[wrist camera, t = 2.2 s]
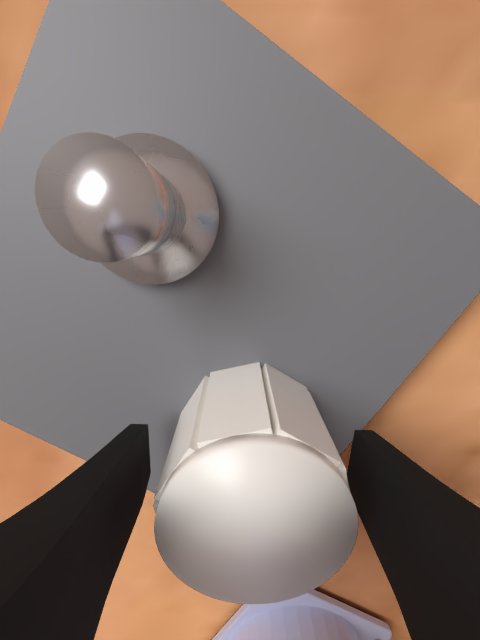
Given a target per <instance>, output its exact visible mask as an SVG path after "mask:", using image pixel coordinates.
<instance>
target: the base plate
mask: <svg viewBox="0 0 480 640" xmlns="http://www.w3.org/2000/svg"><path fill="white" fill-rule="evenodd" d="M84 132H93V133H100V134H104V135H108V136H110V137H113V138H116V137H119V136H122V135H127V134H132V133H148V134H155V135H158V136H162V137H165V138H167V139H170V140H172V141H174V142H176V143H177V144H179V145H181V146H182V147H184V148H185V149H186V150H187V151H189V152H190V153H191V154H192V155H193V156H194V157H195V158H196V159H197V160H198V161H199V163H200V164H201V165H202V167H203V168H204V169H205V171H206V173H207V174H208V176H209V178H210V180H211V182H212V185H213V187H214V189H215V192H216V196H217V199H218V205H219V216H220V219H219V229H218V233H217V237H216V240H215V243H214V245H213V247H212V249H211V251H210V253H209V254H208V256H207V257H206V259H205V260H204V261H203V262H202V263H201V264H200V265H199V266H198V267H197V268H196V269H195V270H193V271H192V272H191V273H189V274H188V275H186V276H185V277H183V278H180V279H178V280H176V281H173V282H170V283H165V284H159V285H147V284H140V283H135V282H132V281H129V280H126V279H124V278H122V277H120V276H118V275H116V274H114V273H113V272H111V271H110V270H108V269H107V268H106V267H105V266H104V265H102V264H101V263H100V262H93V261H89V260H85V259H83V258H80V257H78V256H76V255H74V254H72V253H71V252H69V251H68V250H66V249H65V248H64V247H62V246H61V245H60V244H59V243H58V242H57V241H56V240H55V239H54V238H53V237H52V235H51V234H50V233H49V231H48V230H47V228H46V227H45V225H44V223H43V221H42V219H41V217H40V214H39V211H38V208H37V204H36V198H35V180H36V175H37V171H38V168H39V165H40V163H41V161H42V159H43V157H44V156H45V154H46V153H47V151H48V150H49V149H50V148H51V147H52V146H53V145H54V144H56V143H57V142H58V141H60V140H62V139H63V138H65V137H67V136H70V135H73V134H77V133H84ZM479 292H480V206H479V205H478V204H477V203H476V202H474V201H473V200H472V199H470V198H469V197H468V196H467V195H465V194H464V193H463V192H462V191H460V190H459V189H458V188H457V187H455V186H454V185H453V184H452V183H450V182H449V181H448V180H446V179H445V178H444V177H443V176H441V175H440V174H439V173H438V172H436V171H435V170H434V169H433V168H431V167H430V166H429V165H428V164H426V163H425V162H424V161H423V160H421V159H420V158H419V157H417V156H416V155H415V154H414V153H412V152H411V151H410V150H409V149H407V148H406V147H405V146H404V145H402V144H401V143H400V142H399V141H397V140H396V139H395V138H394V137H392V136H391V135H390V134H388V133H387V132H386V131H385V130H383V129H382V128H381V127H380V126H378V125H377V124H376V123H375V122H373V121H372V120H371V119H370V118H368V117H367V116H366V115H365V114H363V113H362V112H361V111H359V110H358V109H357V108H356V107H354V106H353V105H352V104H351V103H349V102H348V101H347V100H346V99H344V98H343V97H342V96H341V95H339V94H338V93H337V92H336V91H334V90H333V89H332V88H330V87H329V86H328V85H327V84H325V83H324V82H323V81H322V80H320V79H319V78H318V77H317V76H315V75H314V74H313V73H312V72H310V71H309V70H308V69H306V68H305V67H304V66H303V65H301V64H300V63H299V62H298V61H296V60H295V59H294V58H293V57H291V56H290V55H289V54H288V53H286V52H285V51H284V50H283V49H281V48H280V47H279V46H277V45H276V44H275V43H274V42H272V41H271V40H270V39H269V38H267V37H266V36H265V35H264V34H262V33H261V32H260V31H259V30H257V29H256V28H255V27H254V26H252V25H251V24H250V23H248V22H247V21H246V20H245V19H243V18H242V17H241V16H240V15H238V14H237V13H236V12H235V11H233V10H232V9H231V8H230V7H228V6H227V5H226V4H225V3H223V2H222V1H221V0H50V1H49V3H48V6H47V9H46V11H45V14H44V17H43V20H42V22H41V25H40V28H39V30H38V33H37V36H36V39H35V41H34V44H33V47H32V49H31V52H30V55H29V57H28V60H27V63H26V66H25V68H24V71H23V74H22V76H21V79H20V82H19V84H18V87H17V90H16V93H15V95H14V98H13V101H12V103H11V106H10V109H9V112H8V114H7V117H6V120H5V122H4V125H3V128H2V130H1V133H0V420H2V421H4V422H6V423H8V424H10V425H12V426H14V427H16V428H19V429H21V430H23V431H25V432H27V433H29V434H31V435H33V436H35V437H38V438H40V439H42V440H44V441H46V442H48V443H50V444H52V445H54V446H57V447H59V448H61V449H63V450H65V451H67V452H69V453H71V454H73V455H75V456H78V457H80V458H82V459H84V460H86V461H88V460H89V459H90V458H91V457H93V456H94V455H95V454H96V453H97V452H99V451H100V450H101V449H102V448H103V447H104V446H105V445H107V444H108V443H109V442H110V441H111V440H112V439H113V438H115V437H116V436H117V435H118V434H119V433H120V432H122V431H123V430H124V429H125V428H126V427H127V426H129V425H130V424H148V429H149V449H150V468H151V474H150V478H149V482H148V486H147V490H149V491H151V492H153V493H156V490H157V487H158V484H159V481H160V478H161V475H162V471H163V468H164V465H165V462H166V459H167V456H168V452H169V449H170V446H171V443H172V440H173V437H174V433H175V430H176V427H177V424H178V421H179V418H180V414H181V412H182V410H183V409H184V407H185V406H186V404H187V403H188V401H189V400H190V398H191V397H192V395H193V394H194V392H195V391H196V389H197V388H198V386H199V385H200V383H201V382H202V380H203V379H204V377H205V376H207V377H210V372H214V371H219V370H224V369H228V368H233V367H238V366H243V365H247V364H252V363H257V362H259V363H260V367H261V368H262V367H263V366H264V364H265V363H266V364H268V365H270V366H272V367H273V368H275V369H277V370H278V371H280V372H282V373H283V374H285V375H287V376H289V377H290V378H292V379H294V380H295V381H297V382H299V383H300V384H302V385H304V386H306V387H307V390H308V392H310V394H311V396H312V398H313V400H314V402H315V404H316V406H317V409H318V411H319V413H320V415H321V417H322V419H323V421H324V423H325V426H326V428H327V430H328V432H329V434H330V436H331V438H332V440H333V443H334V445H335V447H336V449H337V451H338V453H339V455H341V454H342V452H343V451H344V450H345V449H346V448H347V447H348V445H349V444H350V443H351V442H352V441H353V437H354V431H355V430H362V429H363V428H364V427H365V425H366V424H367V423H368V422H369V421H370V420H371V418H372V417H373V416H374V415H375V414H376V413H377V411H378V410H379V409H380V408H381V407H382V406H383V404H384V403H385V402H386V401H387V400H388V399H389V397H390V396H391V395H392V394H393V393H394V392H395V390H396V389H397V388H398V387H399V386H400V385H401V383H402V382H403V381H404V380H405V379H406V378H407V376H408V375H409V374H410V373H411V372H412V371H413V369H414V368H415V367H416V366H417V365H418V364H419V362H420V361H421V360H422V359H423V358H424V357H425V355H426V354H427V353H428V352H429V351H430V350H431V348H432V347H433V346H434V345H435V344H436V343H437V341H438V340H439V339H440V338H441V337H442V336H443V334H444V333H445V332H446V331H447V330H448V329H449V327H450V326H451V325H452V324H453V323H454V321H455V320H456V319H457V318H458V317H459V316H460V314H461V313H462V312H463V311H464V310H465V309H466V307H467V306H468V305H469V304H470V303H471V302H472V300H473V299H474V298H475V297H476V296H477V295H478V293H479Z"/></svg>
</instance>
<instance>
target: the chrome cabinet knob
mask: <svg viewBox="0 0 480 640" xmlns="http://www.w3.org/2000/svg"><path fill="white" fill-rule="evenodd" d="M35 198H36V204H37V208H38V211H39V214H40V217H41V219H42V221H43V223H44V225H45V227H46V228H47V230H48V231H49V233H50V234H51V235H52V237H53V238H54V239H55V240H56V241H57V242H58V243H59V244H60V245H61V246H62V247H64V248H65V249H66V250H68V251H69V252H71V253H72V254H74V255H76V256H78V257H80V258H83V259H85V260H89V261H93V262H100V263H101V264H102V265H104V266H105V267H106V268H107V269H108V270H110V271H111V272H113V273H114V274H116V275H118V276H120V277H122V278H124V279H126V280H129V281H132V282H135V283H140V284H147V285H159V284H165V283H170V282H173V281H176V280H178V279H180V278H183V277H185V276H186V275H188V274H189V273H191V272H192V271H193V270H195V269H196V268H197V267H198V266H199V265H200V264H201V263H202V262H203V261H204V260H205V259H206V257H207V256H208V254H209V253H210V251H211V249H212V247H213V245H214V243H215V240H216V237H217V233H218V229H219V219H220V216H219V205H218V199H217V196H216V192H215V189H214V187H213V185H212V182H211V180H210V178H209V176H208V174H207V173H206V171H205V169H204V168H203V167H202V165H201V164H200V163H199V161H198V160H197V159H196V158H195V157H194V156H193V155H192V154H191V153H190V152H189V151H187V150H186V149H185V148H184V147H182V146H181V145H179V144H177V143H176V142H174V141H172V140H170V139H167V138H165V137H162V136H158V135H155V134H148V133H132V134H127V135H122V136H119V137H116V138H113V137H110V136H108V135H104V134H100V133H93V132H84V133H77V134H73V135H70V136H67V137H65V138H63V139H62V140H60V141H58V142H57V143H56V144H54V145H53V146H52V147H51V148H50V149H49V150H48V151H47V153H46V154H45V156H44V157H43V159H42V161H41V163H40V165H39V168H38V171H37V175H36V180H35Z"/></svg>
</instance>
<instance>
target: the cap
mask: <svg viewBox="0 0 480 640" xmlns="http://www.w3.org/2000/svg"><path fill="white" fill-rule="evenodd" d="M154 499H155V501H154V504H153V507H154V510H155V512H156V516H155V523H154V533H155V540H156V544H157V547H158V550H159V553H160V555H161V557H162V559H163V561H164V562H165V563H166V565H167V566H168V568H169V569H170V570H171V571H172V572H173V573H174V574H175V575H176V577H178V578H179V579H180V580H181V581H182V582H184V583H185V584H186V585H188V586H190V587H191V588H193V589H194V590H196V591H198V592H200V593H202V594H204V595H207V596H209V597H212V598H215V599H218V600H222V601H226V602H232V603H238V604H268V603H276V602H280V601H285V600H289V599H292V598H295V597H298V596H301V595H303V594H305V593H308V592H310V591H312V590H313V589H315V588H317V587H319V586H320V585H322V584H323V583H325V582H326V581H327V580H329V579H330V578H331V577H332V576H333V575H334V574H335V573H337V572H338V570H339V569H340V568H341V567H342V566H343V565H344V563H345V562H346V560H347V559H348V557H349V556H350V554H351V552H352V549H353V547H354V545H355V541H356V538H357V533H358V514H357V509H356V505H355V502H354V500H353V498H352V495H351V493H350V491H349V486H348V479H347V473H346V468H345V466H344V464H343V462H342V460H341V457H340V455H339V453H338V451H337V449H336V447H335V445H334V443H333V440H332V438H331V436H330V434H329V432H328V430H327V428H326V426H325V423H324V421H323V419H322V417H321V415H320V413H319V411H318V409H317V406H316V404H315V402H314V400H313V398H312V396H311V394H310V392H308V390H307V387H306V386H304V385H302V384H300V383H299V382H297V381H295V380H294V379H292V378H290V377H289V376H287V375H285V374H283V373H282V372H280V371H278V370H277V369H275V368H273V367H272V366H270V365H268V364H266V363H265V364H264V366H263V367H262V368H261V367H260V363H259V362H257V363H252V364H247V365H243V366H238V367H233V368H228V369H224V370H219V371H214V372H210V377H207V376H205V377H204V379H203V380H202V382H201V383H200V385H199V386H198V388H197V389H196V391H195V392H194V394H193V395H192V397H191V398H190V400H189V401H188V403H187V404H186V406H185V407H184V409H183V410H182V412H181V414H180V418H179V421H178V424H177V427H176V430H175V433H174V437H173V440H172V443H171V446H170V449H169V452H168V456H167V459H166V462H165V465H164V468H163V471H162V475H161V478H160V481H159V484H158V487H157V490H156V494H155V497H154Z"/></svg>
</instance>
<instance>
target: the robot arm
mask: <svg viewBox="0 0 480 640" xmlns="http://www.w3.org/2000/svg"><path fill="white" fill-rule="evenodd" d="M150 474H151V468H150V449H149V429H148V424H130V425H129V426H127V427H126V428H125V429H124V430H123V431H122V432H120V433H119V434H118V435H117V436H116V437H115V438H113V439H112V440H111V441H110V442H109V443H108V444H107V445H105V446H104V447H103V448H102V449H101V450H100V451H99V452H97V453H96V454H95V455H94V456H93V457H91V458H90V459H89V460H88V461H87V462H86V463H84V464H83V465H82V466H81V467H79V468H78V469H77V470H75V471H74V472H73V473H72V474H70V475H69V476H68V477H66V478H65V479H64V480H63V481H61V482H60V483H59V484H57V485H56V486H55V487H54V488H52V489H51V490H49V491H48V492H47V493H45V494H44V495H42V496H41V497H40V498H38V499H37V500H35V501H34V502H32V503H31V504H29V505H28V506H26V507H25V508H23V509H22V510H20V511H19V512H17V513H16V514H14V515H13V516H11V517H10V518H8V519H7V520H5V521H3V522H2V523H0V640H94V637H95V634H96V630H97V627H98V624H99V620H100V617H101V614H102V611H103V607H104V604H105V601H106V598H107V595H108V592H109V589H110V587H111V584H112V581H113V578H114V576H115V573H116V571H117V568H118V566H119V563H120V561H121V558H122V555H123V553H124V550H125V548H126V545H127V543H128V540H129V538H130V535H131V533H132V530H133V527H134V525H135V522H136V520H137V517H138V514H139V512H140V509H141V507H142V504H143V500H144V497H145V493H146V490H147V486H148V482H149V478H150ZM347 479H348V484H349V487H350V491H351V494H352V497H353V500H354V502H355V505H356V509H357V511H358V514H359V516H360V518H361V520H362V523H363V525H364V527H365V529H366V532H367V534H368V536H369V538H370V540H371V543H372V545H373V547H374V549H375V551H376V554H377V556H378V558H379V560H380V562H381V565H382V567H383V569H384V571H385V573H386V576H387V578H388V580H389V582H390V584H391V587H392V589H393V592H394V594H395V596H396V599H397V601H398V604H399V606H400V609H401V612H402V615H403V617H404V620H405V623H406V626H407V628H408V631H409V634H410V637H411V639H412V640H480V508H479V507H477V506H476V505H474V504H472V503H471V502H469V501H468V500H466V499H465V498H464V497H462V496H461V495H459V494H458V493H456V492H455V491H453V490H452V489H450V488H449V487H448V486H446V485H445V484H443V483H442V482H440V481H439V480H438V479H436V478H435V477H434V476H432V475H431V474H429V473H428V472H427V471H425V470H424V469H423V468H421V467H420V466H419V465H417V464H416V463H415V462H413V461H412V460H411V459H410V458H408V457H407V456H406V455H404V454H403V453H402V452H400V451H399V450H398V449H396V448H395V447H394V446H393V445H391V444H390V443H389V442H387V441H386V440H385V439H383V438H382V437H381V436H379V435H378V434H376V433H375V432H374V431H372V430H355V431H354V437H353V443H352V449H351V454H350V460H349V466H348V472H347ZM391 637H392V632H391V629H390V627H389V625H388V624H387V623H386V622H383V621H381V620H379V619H377V618H375V617H373V616H370V615H368V614H366V613H364V612H362V611H360V610H357V609H355V608H353V607H351V606H349V605H347V604H344V603H342V602H340V601H338V600H336V599H334V598H331V597H329V596H327V595H325V594H323V593H321V592H318V591H316V590H314V589H313V590H312V591H310V592H308V593H305V594H303V595H301V596H298V597H295V598H292V599H289V600H285V601H280V602H276V603H268V604H243V605H242V606H241V607H240V608H239V610H238V611H237V612H236V613H235V614H234V615H233V616H232V617H231V619H230V620H229V621H228V622H227V623H226V624H225V625H224V626H223V627H222V629H221V630H220V631H219V632H218V633H217V634H216V635H215V636H214V638H213V639H212V640H390V638H391Z"/></svg>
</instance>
